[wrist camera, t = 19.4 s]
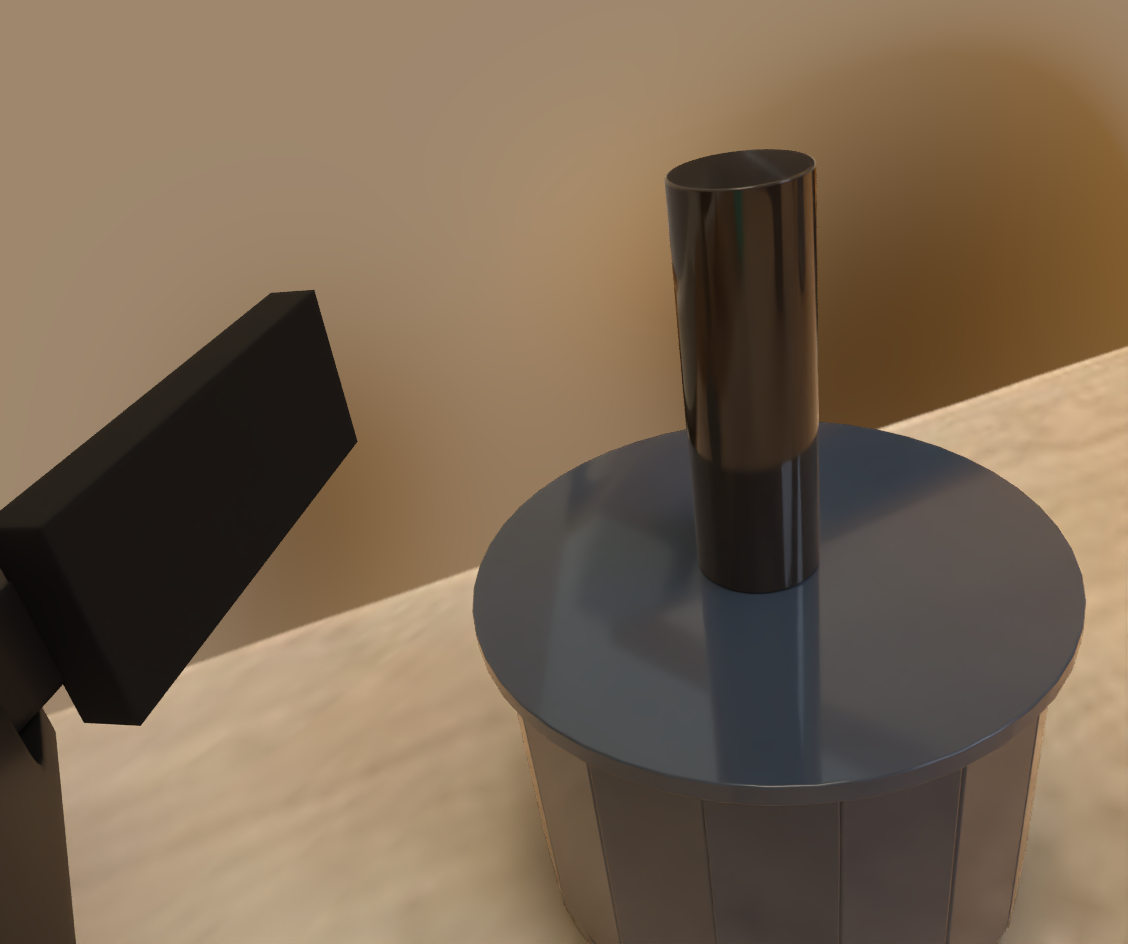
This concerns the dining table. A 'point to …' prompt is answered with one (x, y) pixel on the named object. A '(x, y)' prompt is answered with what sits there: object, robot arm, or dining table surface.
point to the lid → (773, 556)
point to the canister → (789, 857)
